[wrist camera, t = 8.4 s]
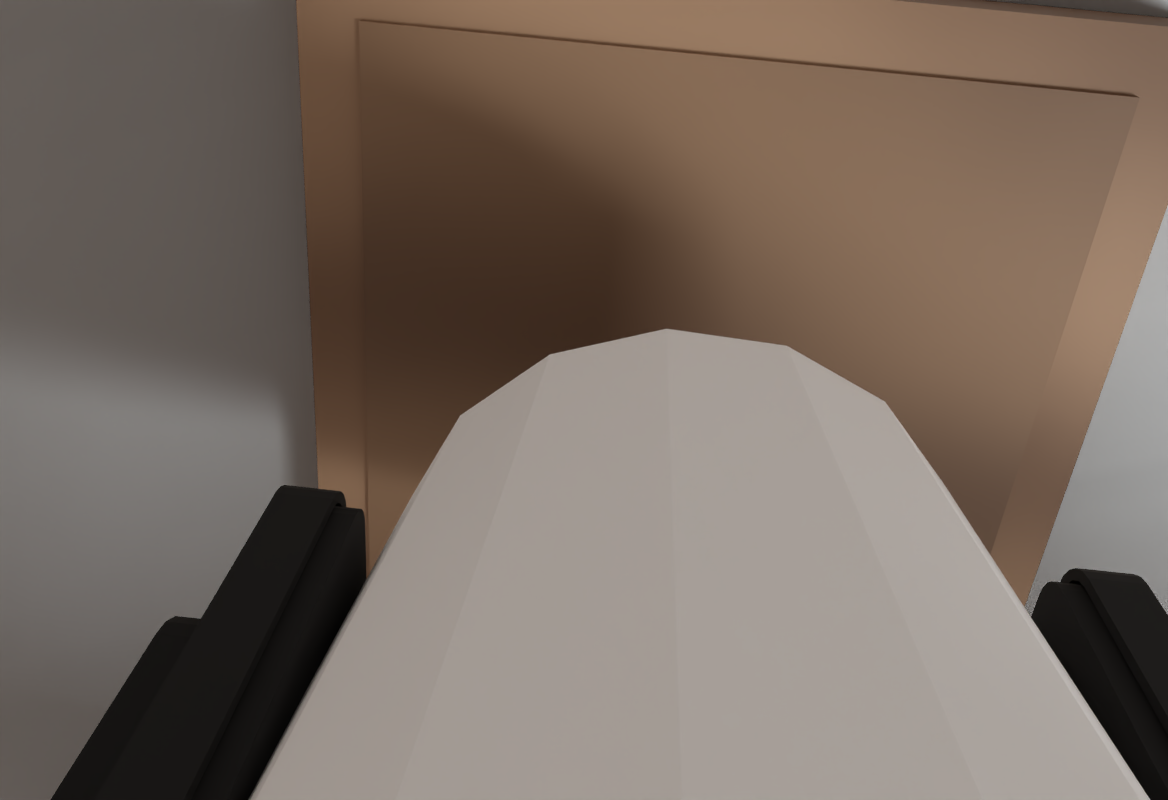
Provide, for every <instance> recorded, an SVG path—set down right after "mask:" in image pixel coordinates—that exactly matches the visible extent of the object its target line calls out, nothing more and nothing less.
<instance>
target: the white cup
mask: <svg viewBox="0 0 1168 800" xmlns="http://www.w3.org/2000/svg"><path fill="white" fill-rule="evenodd" d="M248 800H1150V799H1149V797H1148V796H1147V794H1146V793H1145V791H1144V789H1143V788H1142V786H1141V785H1140V783H1139V782H1138V780H1137V779H1136V777H1135V776H1134V774H1133V773H1132V771H1131V770H1130V768H1129V766H1128V765H1127V763H1126V762H1125V760H1124V759H1123V757H1122V756H1121V754H1120V753H1119V751H1118V750H1117V748H1116V747H1115V745H1114V744H1113V742H1112V740H1111V739H1110V737H1109V736H1108V734H1107V733H1106V731H1105V730H1104V728H1103V727H1102V725H1101V724H1100V722H1099V721H1098V719H1097V718H1096V716H1095V714H1094V713H1093V711H1092V710H1091V708H1090V707H1089V705H1088V704H1087V702H1086V701H1085V699H1084V698H1083V696H1082V695H1081V693H1080V691H1079V690H1078V688H1077V687H1076V685H1075V684H1074V682H1073V681H1072V679H1071V678H1070V676H1069V675H1068V673H1067V672H1066V670H1065V669H1064V667H1063V665H1062V664H1061V662H1060V661H1059V659H1058V658H1057V656H1056V655H1055V653H1054V652H1053V650H1052V649H1051V647H1050V646H1049V644H1048V643H1047V641H1046V639H1045V638H1044V636H1043V635H1042V633H1041V632H1040V630H1039V629H1038V627H1037V626H1036V624H1035V623H1034V621H1033V620H1032V618H1031V616H1030V615H1029V613H1028V612H1027V610H1026V609H1025V607H1024V606H1023V604H1022V603H1021V601H1020V600H1019V598H1018V597H1017V595H1016V594H1015V592H1014V590H1013V589H1012V587H1011V586H1010V584H1009V583H1008V581H1007V580H1006V578H1005V577H1004V575H1003V574H1002V572H1001V571H1000V569H999V568H998V566H997V564H996V563H995V561H994V560H993V558H992V557H991V555H990V554H989V552H988V551H987V549H986V548H985V546H984V545H983V543H982V541H981V540H980V538H979V537H978V535H977V534H976V532H975V531H974V529H973V528H972V526H971V525H970V523H969V522H968V520H967V519H966V517H965V515H964V514H963V512H962V511H961V509H960V508H959V506H958V505H957V503H956V502H955V500H954V499H953V497H952V496H951V494H950V493H949V491H948V489H947V488H946V486H945V485H944V483H943V482H942V481H941V479H940V478H939V476H938V475H937V474H936V472H935V471H934V469H933V468H932V467H931V465H930V464H929V462H928V461H927V460H926V458H925V457H924V455H923V454H922V453H921V451H920V450H919V448H918V447H917V446H916V444H915V443H914V441H913V440H912V439H911V437H910V436H909V434H908V433H907V432H906V430H905V429H904V427H903V426H902V425H901V423H900V422H899V420H898V419H897V418H896V416H895V415H894V413H893V412H892V411H891V409H890V408H889V406H888V405H887V404H886V402H885V401H883V400H881V399H879V398H878V397H876V396H874V395H872V394H871V393H869V392H867V391H865V390H864V389H862V388H860V387H858V386H857V385H855V384H853V383H851V382H850V381H848V380H846V379H844V378H843V377H841V376H839V375H837V374H836V373H834V372H832V371H830V370H829V369H827V368H825V367H823V366H821V365H820V364H818V363H816V362H814V361H813V360H811V359H809V358H807V357H806V356H804V355H802V354H800V353H799V352H797V351H795V350H793V349H792V348H790V347H788V346H785V345H778V344H771V343H764V342H757V341H750V340H743V339H736V338H729V337H722V336H715V335H707V334H700V333H693V332H686V331H679V330H672V329H663V330H658V331H654V332H649V333H645V334H640V335H636V336H631V337H627V338H622V339H618V340H613V341H609V342H604V343H599V344H595V345H590V346H586V347H581V348H577V349H572V350H568V351H563V352H559V353H554V354H550V355H548V356H547V357H545V358H544V359H542V360H541V361H540V362H538V363H537V364H535V365H534V366H532V367H531V368H529V369H528V370H526V371H525V372H523V373H522V374H520V375H519V376H517V377H516V378H515V379H513V380H512V381H510V382H509V383H507V384H506V385H504V386H503V387H501V388H500V389H498V390H497V391H495V392H494V393H492V394H491V395H490V396H488V397H487V398H485V399H484V400H482V401H481V402H479V403H478V404H476V405H475V406H473V407H472V408H470V409H469V410H467V411H466V412H465V413H463V414H462V415H460V417H459V418H458V420H457V422H456V423H455V425H454V427H453V428H452V430H451V432H450V433H449V435H448V437H447V438H446V440H445V442H444V443H443V445H442V447H441V448H440V450H439V452H438V453H437V455H436V457H435V458H434V460H433V462H432V463H431V465H430V467H429V468H428V470H427V472H426V473H425V475H424V477H423V478H422V480H421V482H420V483H419V485H418V487H417V488H416V490H415V492H414V493H413V495H412V497H411V498H410V500H409V502H408V504H407V506H406V508H405V509H404V511H403V513H402V515H401V517H400V519H399V520H398V522H397V524H396V526H395V528H394V530H393V532H392V533H391V535H390V537H389V539H388V541H387V543H386V544H385V546H384V548H383V550H382V552H381V554H380V555H379V557H378V559H377V561H376V563H375V565H374V566H373V568H372V570H371V572H370V574H369V576H368V577H367V579H366V581H365V583H364V585H363V587H362V588H361V590H360V592H359V594H358V596H357V598H356V600H355V601H354V603H353V605H352V607H351V609H350V611H349V612H348V614H347V616H346V618H345V620H344V622H343V623H342V625H341V627H340V629H339V631H338V633H337V634H336V636H335V638H334V640H333V642H332V644H331V645H330V647H329V649H328V651H327V653H326V655H325V657H324V658H323V660H322V662H321V664H320V666H319V668H318V669H317V671H316V673H315V675H314V677H313V679H312V681H311V682H310V684H309V686H308V688H307V690H306V692H305V694H304V696H303V697H302V699H301V701H300V703H299V705H298V707H297V709H296V711H295V713H294V714H293V716H292V718H291V720H290V722H289V724H288V726H287V728H286V729H285V731H284V733H283V735H282V737H281V739H280V741H279V743H278V745H277V746H276V748H275V750H274V752H273V754H272V756H271V758H270V760H269V761H268V763H267V765H266V767H265V769H264V771H263V773H262V775H261V777H260V778H259V780H258V782H257V784H256V786H255V788H254V790H253V792H252V793H251V795H250V797H249V799H248Z"/></svg>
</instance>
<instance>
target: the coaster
mask: <svg viewBox="0 0 1168 800" xmlns="http://www.w3.org/2000/svg"><path fill="white" fill-rule="evenodd" d="M296 10H297V32H298V54H299V76H300V98H301V119H302V141H303V163H304V185H305V207H306V228H307V250H308V272H309V294H310V316H311V337H312V359H313V381H314V403H315V425H316V446H317V468H318V489H325V490H335V491H341V492H342V493H343V494H344V496H345V500H346V507H349V508H358V509H362V510H363V512H364V515H365V537H366V579H367V577H368V576H369V574H370V572H371V570H372V568H373V566H374V565H375V563H376V561H377V559H378V557H379V555H380V554H381V552H382V550H383V548H384V546H385V544H386V543H387V541H388V539H389V537H390V535H391V533H392V532H393V530H394V528H395V526H396V524H397V522H398V520H399V519H400V517H401V515H402V513H403V511H404V509H405V508H406V506H407V504H408V502H409V500H410V498H411V497H412V495H413V493H414V492H415V490H416V488H417V487H418V485H419V483H420V482H421V480H422V478H423V477H424V475H425V473H426V472H427V470H428V468H429V467H430V465H431V463H432V462H433V460H434V458H435V457H436V455H437V453H438V452H439V450H440V448H441V447H442V445H443V443H444V442H445V440H446V438H447V437H448V435H449V433H450V432H451V430H452V428H453V427H454V425H455V423H456V422H457V420H458V418H459V417H460V415H462V414H463V413H465V412H466V411H467V410H469V409H470V408H472V407H473V406H475V405H476V404H478V403H479V402H481V401H482V400H484V399H485V398H487V397H488V396H490V395H491V394H492V393H494V392H495V391H497V390H498V389H500V388H501V387H503V386H504V385H506V384H507V383H509V382H510V381H512V380H513V379H515V378H516V377H517V376H519V375H520V374H522V373H523V372H525V371H526V370H528V369H529V368H531V367H532V366H534V365H535V364H537V363H538V362H540V361H541V360H542V359H544V358H545V357H547V356H548V355H550V354H554V353H559V352H563V351H568V350H572V349H577V348H581V347H586V346H590V345H595V344H599V343H604V342H609V341H613V340H618V339H622V338H627V337H631V336H636V335H640V334H645V333H649V332H654V331H658V330H663V329H672V330H679V331H686V332H693V333H700V334H707V335H715V336H722V337H729V338H736V339H743V340H750V341H757V342H764V343H771V344H778V345H785V346H788V347H790V348H792V349H793V350H795V351H797V352H799V353H800V354H802V355H804V356H806V357H807V358H809V359H811V360H813V361H814V362H816V363H818V364H820V365H821V366H823V367H825V368H827V369H829V370H830V371H832V372H834V373H836V374H837V375H839V376H841V377H843V378H844V379H846V380H848V381H850V382H851V383H853V384H855V385H857V386H858V387H860V388H862V389H864V390H865V391H867V392H869V393H871V394H872V395H874V396H876V397H878V398H879V399H881V400H883V401H885V402H886V404H887V405H888V406H889V408H890V409H891V411H892V412H893V413H894V415H895V416H896V418H897V419H898V420H899V422H900V423H901V425H902V426H903V427H904V429H905V430H906V432H907V433H908V434H909V436H910V437H911V439H912V440H913V441H914V443H915V444H916V446H917V447H918V448H919V450H920V451H921V453H922V454H923V455H924V457H925V458H926V460H927V461H928V462H929V464H930V465H931V467H932V468H933V469H934V471H935V472H936V474H937V475H938V476H939V478H940V479H941V481H942V482H943V483H944V485H945V486H946V488H947V489H948V491H949V493H950V494H951V496H952V497H953V499H954V500H955V502H956V503H957V505H958V506H959V508H960V509H961V511H962V512H963V514H964V515H965V517H966V519H967V520H968V522H969V523H970V525H971V526H972V528H973V529H974V531H975V532H976V534H977V535H978V537H979V538H980V540H981V541H982V543H983V545H984V546H985V548H986V549H987V551H988V552H989V554H990V555H991V557H992V558H993V560H994V561H995V563H996V564H997V566H998V568H999V569H1000V571H1001V572H1002V574H1003V575H1004V577H1005V578H1006V580H1007V581H1008V583H1009V584H1010V586H1011V587H1012V589H1013V590H1014V592H1015V594H1016V595H1017V597H1018V598H1019V600H1020V601H1021V603H1022V604H1023V606H1025V603H1026V601H1027V598H1028V595H1029V592H1030V589H1031V587H1032V584H1033V581H1034V578H1035V575H1036V573H1037V570H1038V567H1039V564H1040V561H1041V559H1042V556H1043V553H1044V550H1045V547H1046V545H1047V542H1048V539H1049V536H1050V533H1051V531H1052V528H1053V525H1054V522H1055V519H1056V517H1057V514H1058V511H1059V508H1060V505H1061V502H1062V500H1063V497H1064V494H1065V491H1066V488H1067V486H1068V483H1069V480H1070V477H1071V474H1072V472H1073V469H1074V466H1075V463H1076V460H1077V458H1078V455H1079V452H1080V449H1081V446H1082V444H1083V441H1084V438H1085V435H1086V432H1087V430H1088V427H1089V424H1090V421H1091V418H1092V416H1093V413H1094V410H1095V407H1096V404H1097V402H1098V399H1099V396H1100V393H1101V390H1102V388H1103V385H1104V382H1105V379H1106V376H1107V373H1108V371H1109V368H1110V365H1111V362H1112V359H1113V357H1114V354H1115V351H1116V348H1117V345H1118V343H1119V340H1120V337H1121V334H1122V331H1123V329H1124V326H1125V323H1126V320H1127V317H1128V315H1129V312H1130V309H1131V306H1132V303H1133V301H1134V298H1135V295H1136V292H1137V289H1138V287H1139V284H1140V281H1141V278H1142V275H1143V273H1144V270H1145V267H1146V264H1147V261H1148V259H1149V256H1150V253H1151V250H1152V247H1153V244H1154V242H1155V239H1156V236H1157V233H1158V230H1159V228H1160V225H1161V222H1162V219H1163V216H1164V214H1165V211H1166V208H1167V205H1168V18H1164V17H1154V16H1143V15H1133V14H1123V13H1112V12H1102V11H1091V10H1081V9H1070V8H1060V7H1050V6H1039V5H1029V4H1018V3H1008V2H998V1H987V0H296Z"/></svg>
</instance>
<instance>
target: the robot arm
mask: <svg viewBox="0 0 1168 800" xmlns="http://www.w3.org/2000/svg"><path fill="white" fill-rule="evenodd" d="M365 581H366V537H365V515H364V512H363V510H362V509H358V508H349V507H346V500H345V496H344V494H343V493H342V492H341V491H335V490H325V489H315V488H306V487H296V486H287V485H284V486H281V487H280V488H279V489H278V490H277V491H276V493H275V494H274V496H273V498H272V499H271V501H270V503H269V505H268V506H267V508H266V510H265V511H264V513H263V515H262V516H261V518H260V520H259V522H258V523H257V525H256V527H255V528H254V530H253V532H252V533H251V535H250V537H249V539H248V540H247V542H246V544H245V545H244V547H243V549H242V550H241V552H240V554H239V555H238V557H237V559H236V561H235V562H234V564H233V566H232V567H231V569H230V571H229V572H228V574H227V576H226V578H225V579H224V581H223V583H222V584H221V586H220V588H219V589H218V591H217V593H216V595H215V596H214V598H213V600H212V601H211V603H210V605H209V606H208V608H207V610H206V611H205V613H204V615H203V617H202V618H201V619H197V618H187V617H178V616H175V617H173V618H171V619H170V620H168V621H166V622H165V623H164V625H163V626H162V627H161V628H160V630H159V631H158V632H157V633H156V635H155V636H154V638H153V639H152V641H151V643H150V644H149V646H148V647H147V649H146V650H145V652H144V654H143V655H142V657H141V658H140V660H139V661H138V663H137V665H136V666H135V668H134V669H133V671H132V672H131V674H130V676H129V677H128V679H127V680H126V682H125V684H124V685H123V687H122V688H121V690H120V691H119V693H118V695H117V696H116V698H115V699H114V701H113V702H112V704H111V706H110V707H109V709H108V710H107V712H106V713H105V715H104V717H103V718H102V720H101V721H100V723H99V724H98V726H97V728H96V729H95V731H94V732H93V734H92V735H91V737H90V739H89V740H88V742H87V743H86V745H85V747H84V748H83V750H82V751H81V753H80V754H79V756H78V758H77V759H76V761H75V762H74V764H73V765H72V767H71V769H70V770H69V772H68V773H67V775H66V776H65V778H64V780H63V781H62V783H61V784H60V786H59V787H58V789H57V791H56V792H55V794H54V795H53V797H52V799H51V800H248V799H249V797H250V795H251V793H252V792H253V790H254V788H255V786H256V784H257V782H258V780H259V778H260V777H261V775H262V773H263V771H264V769H265V767H266V765H267V763H268V761H269V760H270V758H271V756H272V754H273V752H274V750H275V748H276V746H277V745H278V743H279V741H280V739H281V737H282V735H283V733H284V731H285V729H286V728H287V726H288V724H289V722H290V720H291V718H292V716H293V714H294V713H295V711H296V709H297V707H298V705H299V703H300V701H301V699H302V697H303V696H304V694H305V692H306V690H307V688H308V686H309V684H310V682H311V681H312V679H313V677H314V675H315V673H316V671H317V669H318V668H319V666H320V664H321V662H322V660H323V658H324V657H325V655H326V653H327V651H328V649H329V647H330V645H331V644H332V642H333V640H334V638H335V636H336V634H337V633H338V631H339V629H340V627H341V625H342V623H343V622H344V620H345V618H346V616H347V614H348V612H349V611H350V609H351V607H352V605H353V603H354V601H355V600H356V598H357V596H358V594H359V592H360V590H361V588H362V587H363V585H364V583H365ZM1031 618H1032V620H1033V621H1034V623H1035V624H1036V626H1037V627H1038V629H1039V630H1040V632H1041V633H1042V635H1043V636H1044V638H1045V639H1046V641H1047V643H1048V644H1049V646H1050V647H1051V649H1052V650H1053V652H1054V653H1055V655H1056V656H1057V658H1058V659H1059V661H1060V662H1061V664H1062V665H1063V667H1064V669H1065V670H1066V672H1067V673H1068V675H1069V676H1070V678H1071V679H1072V681H1073V682H1074V684H1075V685H1076V687H1077V688H1078V690H1079V691H1080V693H1081V695H1082V696H1083V698H1084V699H1085V701H1086V702H1087V704H1088V705H1089V707H1090V708H1091V710H1092V711H1093V713H1094V714H1095V716H1096V718H1097V719H1098V721H1099V722H1100V724H1101V725H1102V727H1103V728H1104V730H1105V731H1106V733H1107V734H1108V736H1109V737H1110V739H1111V740H1112V742H1113V744H1114V745H1115V747H1116V748H1117V750H1118V751H1119V753H1120V754H1121V756H1122V757H1123V759H1124V760H1125V762H1126V763H1127V765H1128V766H1129V768H1130V770H1131V771H1132V773H1133V774H1134V776H1135V777H1136V779H1137V780H1138V782H1139V783H1140V785H1141V786H1142V788H1143V789H1144V791H1145V793H1146V794H1147V796H1148V797H1149V799H1150V800H1168V615H1167V614H1166V612H1165V610H1164V609H1163V607H1162V606H1161V604H1160V603H1159V601H1158V600H1157V598H1156V597H1155V595H1154V594H1153V592H1152V590H1151V589H1150V587H1149V586H1148V584H1147V583H1146V582H1145V581H1144V580H1143V579H1142V578H1141V577H1139V576H1137V575H1134V574H1125V573H1116V572H1106V571H1097V570H1087V569H1078V568H1075V569H1071V570H1069V571H1068V572H1067V573H1066V574H1065V575H1064V576H1063V578H1062V580H1061V582H1049V583H1047V584H1046V585H1045V586H1044V587H1043V589H1042V591H1041V593H1040V595H1039V597H1038V600H1037V603H1036V606H1035V608H1034V611H1033V614H1032V617H1031Z"/></svg>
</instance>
